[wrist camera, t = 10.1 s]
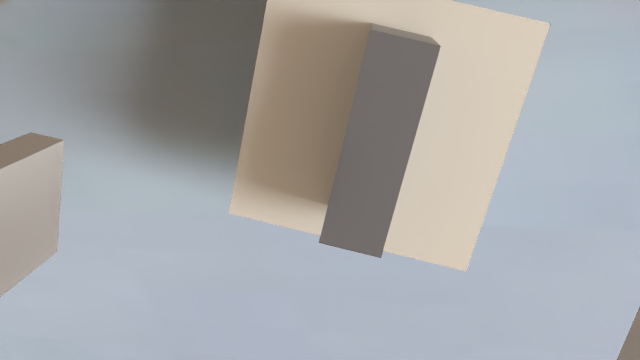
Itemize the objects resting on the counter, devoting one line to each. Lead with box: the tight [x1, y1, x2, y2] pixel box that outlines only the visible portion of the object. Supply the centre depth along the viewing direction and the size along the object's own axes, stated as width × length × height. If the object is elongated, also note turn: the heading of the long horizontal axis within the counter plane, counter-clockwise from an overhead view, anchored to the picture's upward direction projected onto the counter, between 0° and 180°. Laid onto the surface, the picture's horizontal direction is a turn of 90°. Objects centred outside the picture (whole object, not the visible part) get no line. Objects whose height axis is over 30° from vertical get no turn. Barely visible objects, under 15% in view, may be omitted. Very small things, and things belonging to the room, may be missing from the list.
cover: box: [229, 0, 550, 271], centre depth 23 cm, size 11×11×5 cm
